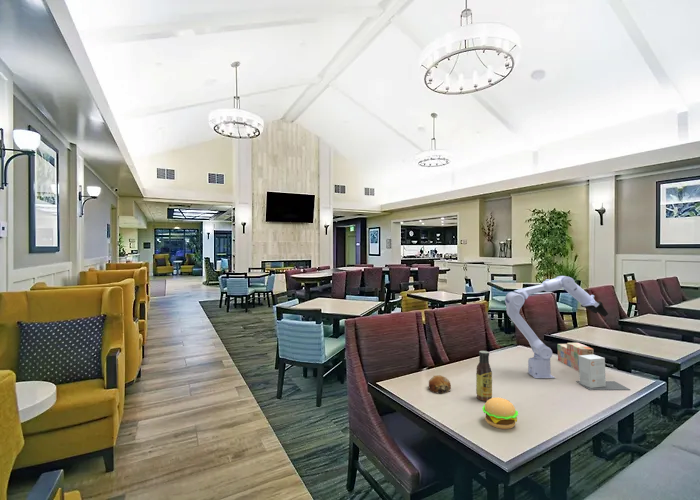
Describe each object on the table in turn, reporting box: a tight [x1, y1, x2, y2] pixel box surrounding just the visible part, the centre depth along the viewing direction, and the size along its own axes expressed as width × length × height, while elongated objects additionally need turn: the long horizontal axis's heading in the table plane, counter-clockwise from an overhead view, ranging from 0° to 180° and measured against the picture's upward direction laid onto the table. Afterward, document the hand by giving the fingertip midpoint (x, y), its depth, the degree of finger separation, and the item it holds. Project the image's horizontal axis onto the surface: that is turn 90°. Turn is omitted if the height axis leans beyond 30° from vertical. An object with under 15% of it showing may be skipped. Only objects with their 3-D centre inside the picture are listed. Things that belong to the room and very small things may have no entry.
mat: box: [575, 380, 631, 391], centre depth 158 cm, size 18×10×1 cm, turn 86°
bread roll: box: [428, 374, 452, 394], centre depth 158 cm, size 10×10×8 cm
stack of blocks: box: [556, 342, 594, 372], centre depth 186 cm, size 21×6×12 cm, turn 179°
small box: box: [578, 353, 607, 388], centre depth 158 cm, size 8×6×13 cm
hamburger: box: [482, 397, 519, 430], centre depth 126 cm, size 12×12×9 cm
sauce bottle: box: [475, 350, 493, 402], centre depth 147 cm, size 6×6×20 cm
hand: (601, 313), depth 169 cm, fingers open, 7 cm apart
